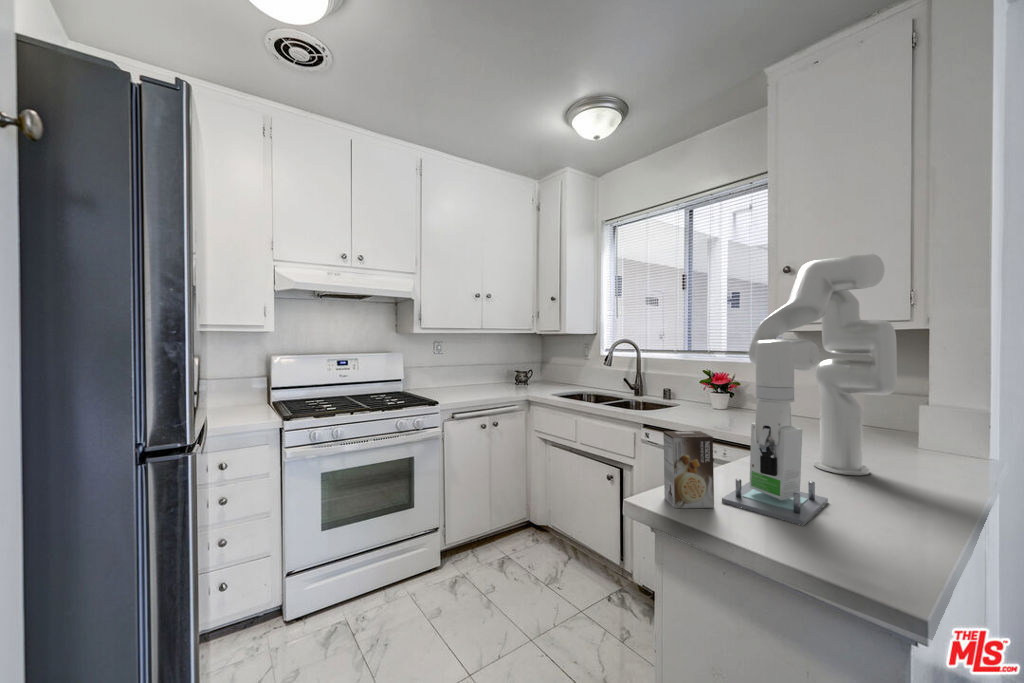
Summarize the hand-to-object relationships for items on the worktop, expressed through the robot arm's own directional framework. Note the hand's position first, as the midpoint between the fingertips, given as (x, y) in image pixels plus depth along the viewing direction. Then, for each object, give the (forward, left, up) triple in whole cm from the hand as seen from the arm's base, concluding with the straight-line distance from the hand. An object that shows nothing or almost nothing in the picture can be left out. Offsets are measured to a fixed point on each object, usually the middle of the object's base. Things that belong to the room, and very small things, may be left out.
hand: (774, 470), depth 95 cm
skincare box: (0, 0, -5) cm, 5 cm away
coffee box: (+15, -13, -8) cm, 21 cm away
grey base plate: (0, 0, -7) cm, 7 cm away
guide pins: (0, 0, -7) cm, 7 cm away
